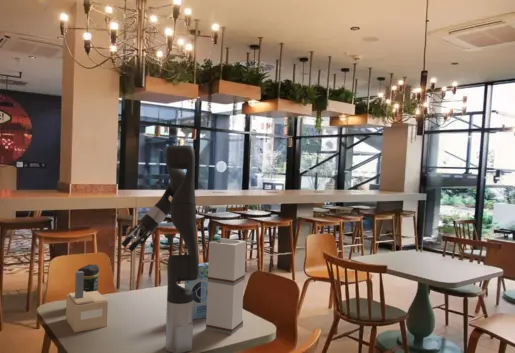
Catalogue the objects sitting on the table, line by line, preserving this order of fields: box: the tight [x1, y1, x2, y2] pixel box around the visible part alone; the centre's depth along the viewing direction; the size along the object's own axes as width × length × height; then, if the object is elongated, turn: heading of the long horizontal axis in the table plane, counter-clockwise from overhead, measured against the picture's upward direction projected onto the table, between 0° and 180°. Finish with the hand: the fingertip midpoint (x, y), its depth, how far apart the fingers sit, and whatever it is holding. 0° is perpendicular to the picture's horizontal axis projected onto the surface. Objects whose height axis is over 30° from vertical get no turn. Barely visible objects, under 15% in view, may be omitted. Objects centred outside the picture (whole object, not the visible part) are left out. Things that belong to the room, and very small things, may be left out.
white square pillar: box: [205, 237, 247, 336], centre depth 168 cm, size 11×11×35 cm
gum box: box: [184, 261, 208, 320], centre depth 182 cm, size 20×5×23 cm, turn 123°
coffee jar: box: [77, 263, 100, 292], centre depth 186 cm, size 10×8×19 cm
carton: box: [65, 290, 109, 333], centre depth 168 cm, size 16×12×10 cm
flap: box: [68, 270, 94, 304], centre depth 166 cm, size 14×6×11 cm, turn 35°
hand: (126, 247), depth 176 cm, fingers open, 8 cm apart
